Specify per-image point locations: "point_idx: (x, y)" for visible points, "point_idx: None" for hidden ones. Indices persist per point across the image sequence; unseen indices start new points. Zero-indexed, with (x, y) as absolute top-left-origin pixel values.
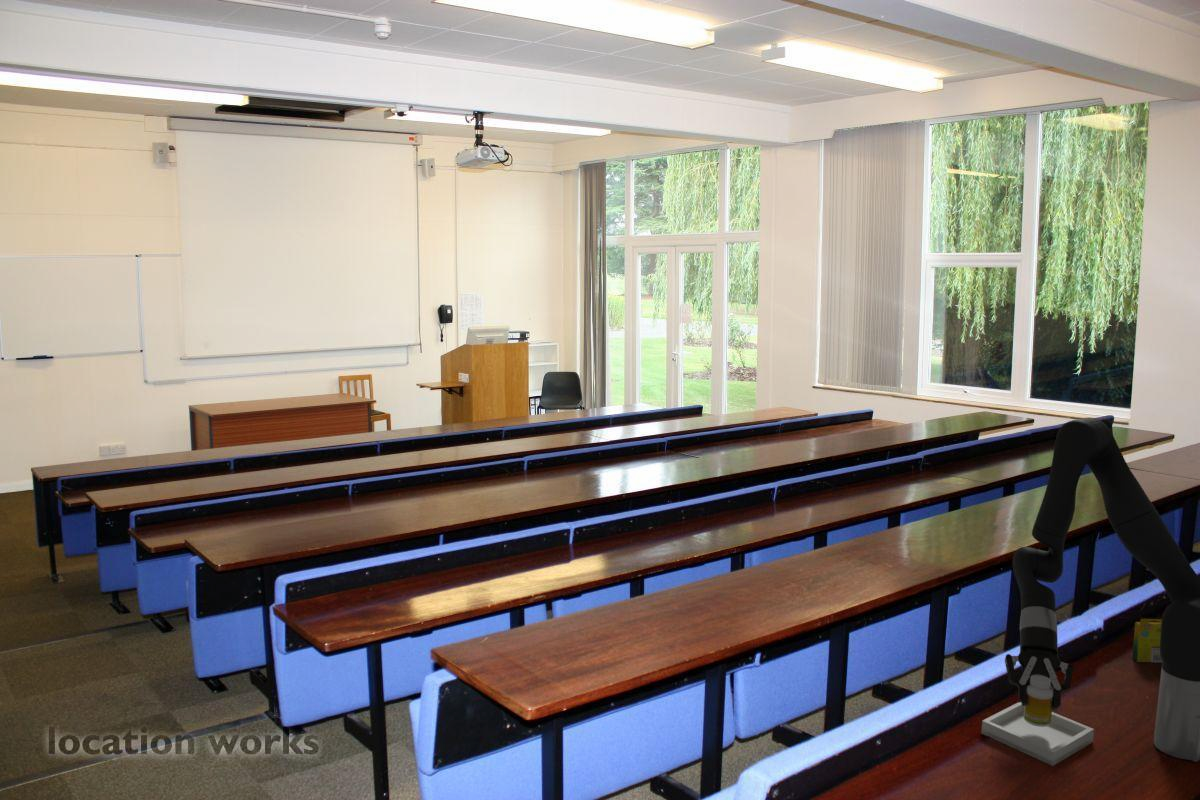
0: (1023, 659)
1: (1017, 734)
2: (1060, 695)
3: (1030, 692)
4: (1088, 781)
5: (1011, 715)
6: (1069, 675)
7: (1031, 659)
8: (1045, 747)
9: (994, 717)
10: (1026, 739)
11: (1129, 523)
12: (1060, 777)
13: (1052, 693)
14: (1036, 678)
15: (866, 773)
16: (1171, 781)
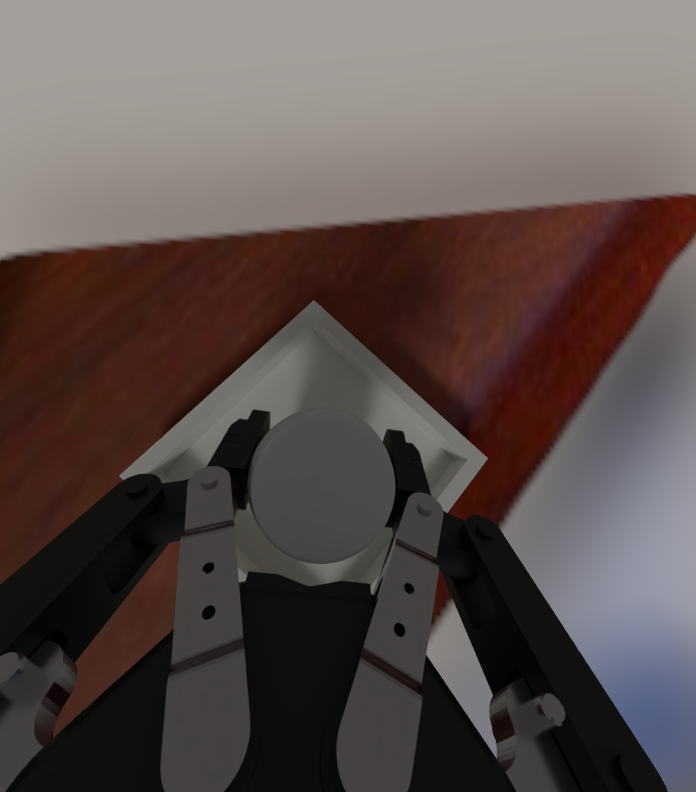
0: (470, 759)
1: (395, 387)
2: (213, 455)
3: (380, 440)
4: (247, 265)
5: (376, 564)
6: (42, 576)
7: (401, 735)
8: (331, 323)
9: (448, 490)
10: (375, 361)
11: None
12: (309, 274)
13: (259, 444)
14: (355, 484)
15: (686, 244)
16: (15, 290)
